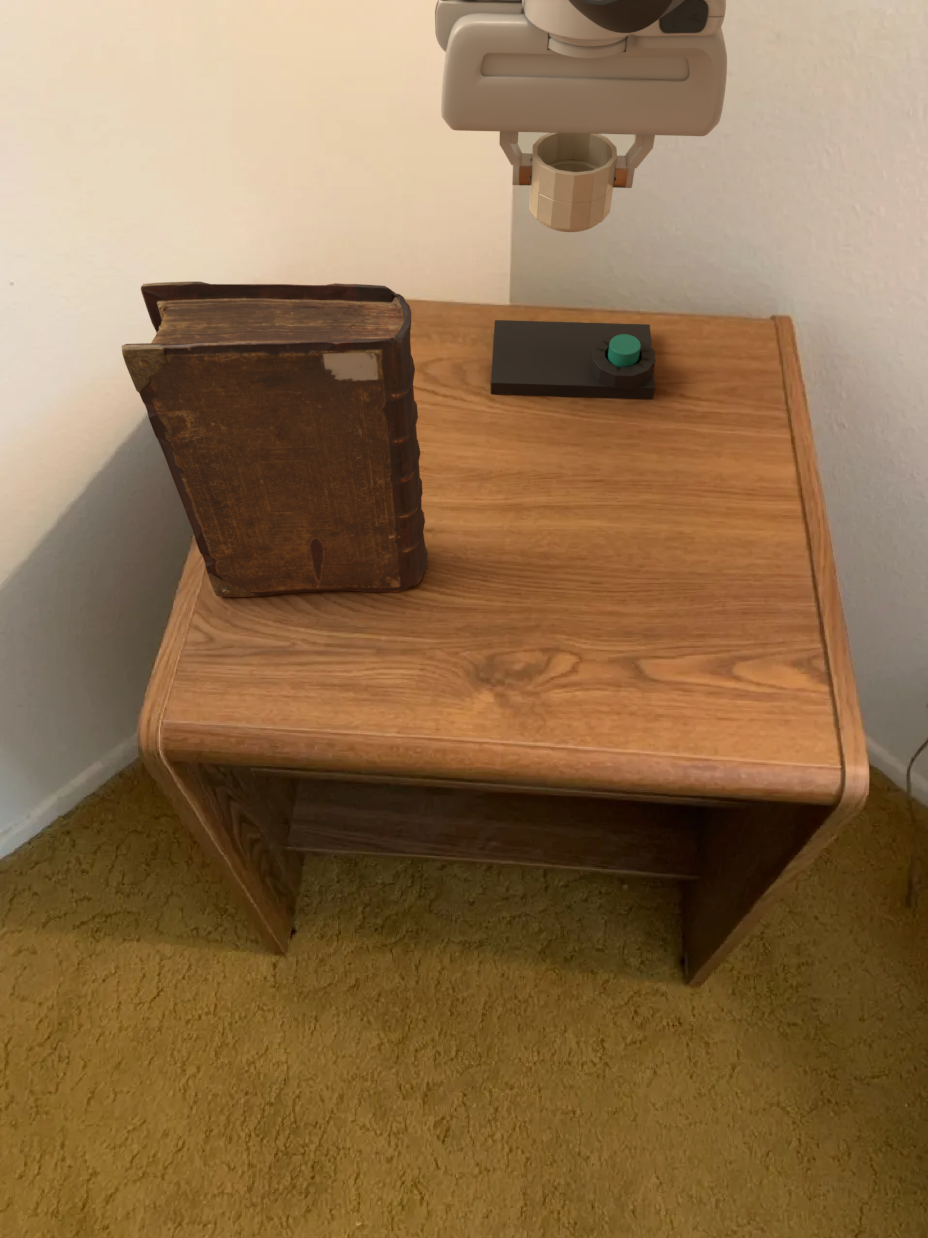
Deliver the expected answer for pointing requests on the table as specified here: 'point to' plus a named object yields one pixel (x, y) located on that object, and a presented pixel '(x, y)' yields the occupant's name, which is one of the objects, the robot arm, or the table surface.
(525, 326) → the scale
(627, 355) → the button
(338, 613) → the table surface
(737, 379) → the table surface
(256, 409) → the book
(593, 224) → the beige cup
